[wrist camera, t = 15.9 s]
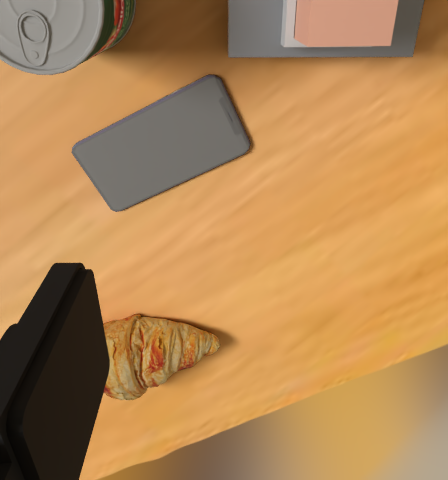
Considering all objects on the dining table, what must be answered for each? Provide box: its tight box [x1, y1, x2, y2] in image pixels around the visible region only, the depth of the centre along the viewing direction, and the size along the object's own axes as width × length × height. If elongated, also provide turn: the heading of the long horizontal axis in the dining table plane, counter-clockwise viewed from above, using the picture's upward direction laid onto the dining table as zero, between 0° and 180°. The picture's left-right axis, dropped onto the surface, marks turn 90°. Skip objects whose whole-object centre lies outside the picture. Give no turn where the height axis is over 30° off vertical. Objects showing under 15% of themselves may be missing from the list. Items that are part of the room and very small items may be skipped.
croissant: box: [103, 314, 220, 400], centre depth 49 cm, size 21×10×8 cm, turn 100°
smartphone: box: [72, 75, 250, 212], centre depth 39 cm, size 8×1×15 cm
